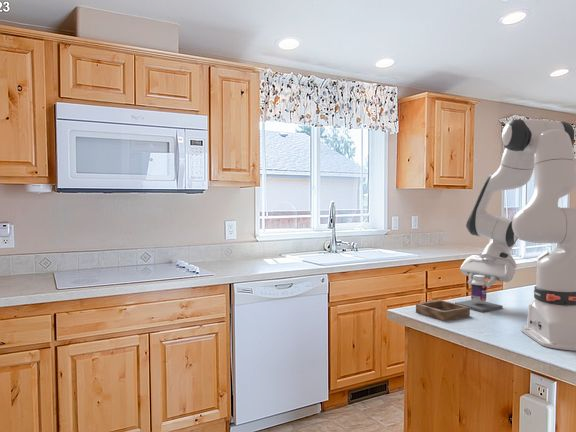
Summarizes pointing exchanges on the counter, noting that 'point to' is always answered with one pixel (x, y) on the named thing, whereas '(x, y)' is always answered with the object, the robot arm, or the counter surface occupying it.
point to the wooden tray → (451, 313)
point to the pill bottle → (478, 289)
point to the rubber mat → (480, 305)
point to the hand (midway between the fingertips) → (477, 285)
